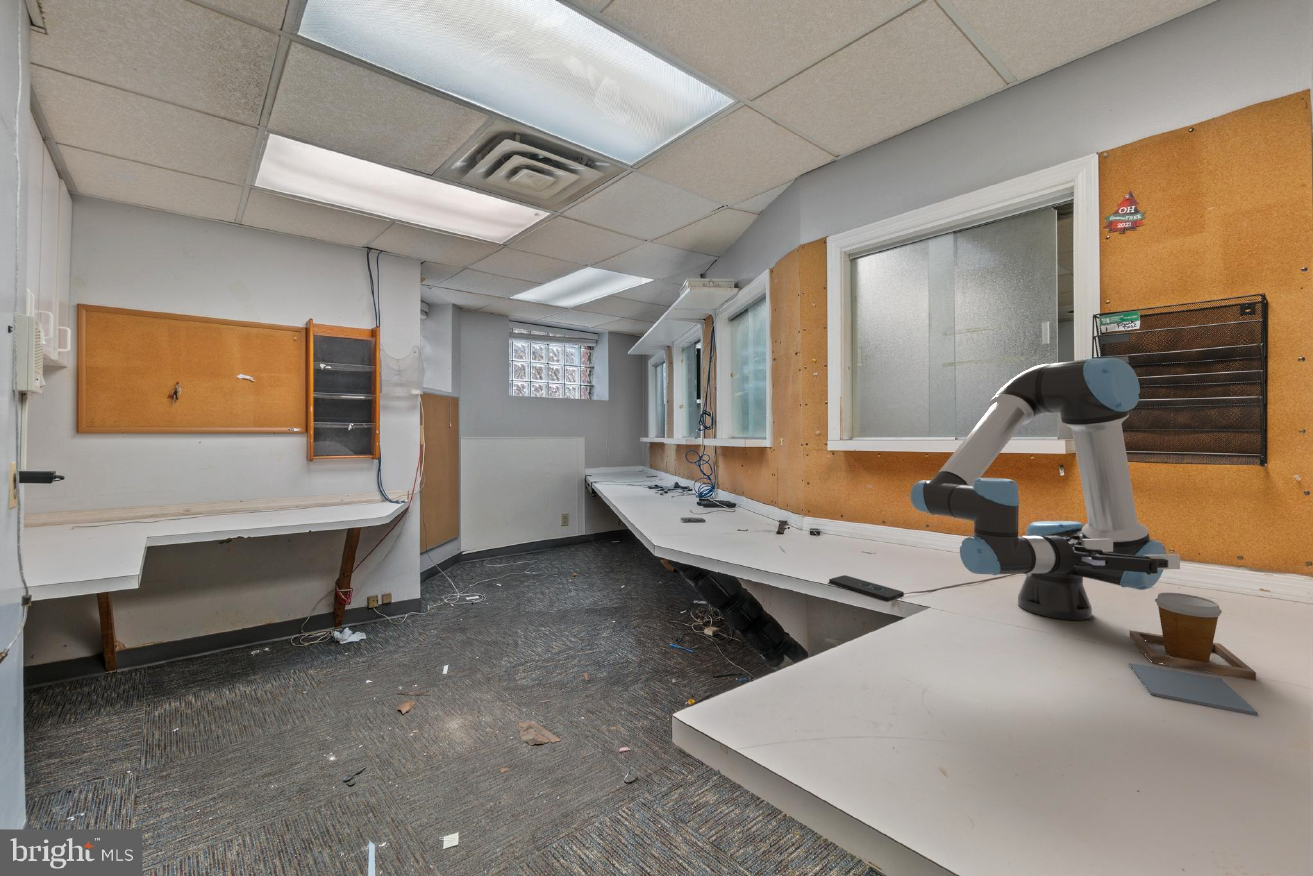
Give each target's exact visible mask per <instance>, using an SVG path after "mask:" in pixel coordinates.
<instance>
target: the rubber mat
mask: <svg viewBox="0 0 1313 876" xmlns="http://www.w3.org/2000/svg"><path fill="white" fill-rule="evenodd" d="M1129 665H1130V666H1131V668H1132V669H1133V670H1134V672H1135V673H1136V674H1137V675H1136V674H1135V673H1134V672H1133V673H1134V674H1135V675H1136V677H1137V676H1138V677H1139V678H1140V679H1141V681H1142V682H1141V681H1140V682H1141V684H1144V685H1145V686H1146V687H1145V686H1144V685H1143V686H1144V687H1145V689H1146V688H1147V689H1148V690H1149V691H1148V690H1147V689H1146V690H1147V691H1148V693H1149V692H1150V693H1151V694H1152V695H1151V694H1150V693H1149V694H1150V695H1151V696H1153V695H1158V696H1157V697H1159V696H1161V697H1160V698H1164V697H1167V698H1166V699H1169V698H1171V699H1170V700H1174V699H1176V700H1175V701H1182V702H1185V701H1186V702H1185V703H1190V704H1191V703H1192V704H1195V703H1197V704H1196V705H1201V704H1203V705H1202V706H1206V705H1207V707H1211V706H1212V708H1216V709H1223V710H1228V711H1234V712H1238V713H1242V714H1243V713H1244V714H1248V715H1254V716H1259V712H1258V711H1257V710H1256V709H1255V708H1254V707H1253V706H1252V705H1251V704H1249V702H1248V701H1246V700H1245V699H1244V698H1243V696H1241V695H1240V694H1239V693H1238V692H1236V690H1234V689H1233V688H1232V687H1231V686H1230V685H1229V684H1228V683H1227V682H1226V681H1225V680H1224V679H1223V678H1221V677H1217V676H1211V675H1205V674H1200V673H1194V672H1193V673H1192V672H1186V671H1183V670H1182V671H1180V670H1177V669H1176V670H1175V669H1170V668H1169V669H1168V668H1164V667H1163V668H1162V667H1158V666H1151V665H1148V664H1147V665H1146V664H1142V663H1141V664H1140V663H1133V662H1128V666H1129ZM1130 666H1129V667H1130ZM1131 668H1130V669H1131ZM1132 669H1131V670H1132ZM1133 670H1132V671H1133ZM1138 677H1137V678H1138ZM1139 678H1138V679H1139ZM1140 679H1139V680H1140Z"/></svg>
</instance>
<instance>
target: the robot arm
mask: <svg viewBox="0 0 1313 876" xmlns="http://www.w3.org/2000/svg"><path fill="white" fill-rule="evenodd" d="M1138 379H1139V378H1138V376H1137V374H1136V372H1135V370H1134V369H1133V368H1132V366H1131V365H1130V364H1129V363H1126V361H1124V360H1122V359H1120V358H1117V357H1107V358H1106V357H1104V358H1098V357H1094V358H1087V359H1078V360H1072V361H1063V362H1055V363H1045V364H1040V365H1036V366H1033V367H1031V368H1029V369H1027V370H1025V371H1023V372H1021V373H1020V374H1018V375H1016V376H1015V377H1014V378H1012V379H1010V380H1009V381H1008V382H1007V383H1006V384H1005V385H1003V387H1001V388H1000V389H999V390H998V391H997V392H996V394H995V395H993V397H992V398H991V399H990V400H989V404H988V405H989V409H988V410H987V412H986V413H985V414H984V415H983V417H982V418H980V420H979V421H978V423H977V424H976V425H975V426H974V428H972V430H971V431H970V433H969V434H967V436H966V437H965V439H964V440H963V441H962V442H961V443H960V445H959V446H958V448H957V449H956V450H955V451H954V452H953V454H952V455H951V456H950V457H949V458H948V459H947V461H946V462H945V463H944V465H943V466H942V467H941V468H940V469H939V471H938V472H937V473H936V474H935V476H934V477H933V478H932V479H931V480H930V479H926V480H923V479H922V480H919V481H916V482H915V483H914V484H913V486H912V488H911V490H910V502H911V504H912V506H913V507H914V508H915V510H917V511H919V512H922V513H926V514H929V515H932V516H942V517H946V518H947V517H948V518H954V519H959V520H964V521H969V522H973V525H974V527H973V535H971V536H969V537H965V538H964V539H963V540H962V541H961V546H959V556H960V560H961V562H962V564H963V566H964V567H965V568H966V569H967V570H968V571H970V572H971V573H972V574H975V575H992V576H999V575H1002V576H1003V575H1024V574H1025V578H1024V580H1023V584H1022V585H1021V587H1020V591H1019V593H1018V594H1017V605H1018V606H1019V607H1020V608H1021V609H1023V610H1025V611H1027V612H1029V613H1033V614H1036V615H1039V616H1043V617H1047V618H1048V617H1049V618H1053V619H1059V620H1068V621H1085V620H1089V619H1091V618H1092V617H1093V608H1092V604H1091V602H1090V599H1089V597H1088V595H1087V591H1086V589H1085V587H1084V578H1085V579H1089V580H1094V581H1098V582H1103V583H1107V584H1110V585H1115V586H1120V587H1121V588H1129V589H1132V590H1133V589H1134V590H1139V591H1146V590H1148V589H1151V588H1152V587H1153V586H1155V585H1156V584H1157V583H1158V581H1159V580H1160V578H1161V576H1162V575H1163V572H1164V570H1181V555H1180V554H1176V553H1172V554H1171V553H1169V554H1168V553H1167V551H1166V547H1165V545H1164V544H1163V543H1162V542H1160V541H1157V540H1156V539H1150V538H1151V537H1150V533H1149V529H1148V527H1147V526H1146V525H1144V524H1142V523H1140V522H1139V521H1138V515H1137V510H1136V502H1135V499H1134V492H1133V486H1132V480H1131V474H1130V468H1129V467H1130V466H1129V462H1128V456H1127V450H1126V445H1125V444H1126V443H1125V437H1124V432H1123V425H1122V424H1123V422H1124V421H1125V420H1126V419H1128V417H1129V416H1130V410H1133V409H1134V408H1135V407H1136V406H1137V405H1138V403H1139V401H1140V400H1139V399H1140V397H1139V395H1140V393H1141V389H1140V387H1141V386H1140V383H1139V380H1138ZM1045 413H1047V414H1049V413H1060V414H1059V415H1060V419H1061V424H1063V425H1065V426H1066V427H1067V428H1070V430H1071V433H1072V438H1073V439H1072V440H1073V444H1074V451H1075V454H1076V461H1077V467H1078V472H1079V478H1080V483H1081V484H1080V485H1081V489H1082V495H1083V500H1084V505H1085V510H1086V516H1087V523H1086V524H1085V525H1084V524H1083V523H1082V522H1080V521H1073V520H1072V521H1071V520H1068V521H1067V520H1045V521H1033V522H1031V523H1029V524H1028V525H1027V526H1026V533H1025V534H1026V535H1021V536H1020V535H1019V517H1020V516H1019V511H1020V510H1019V509H1020V506H1019V505H1020V503H1021V502H1020V498H1019V484H1018V483H1017V482H1016V481H1015V480H1013V479H1009V478H1004V477H1003V478H1002V477H982V476H983V475H984V473H985V472H986V471H987V470H988V469H989V467H990V466H991V464H993V462H994V461H995V459H996V458H997V457H998V456H999V455H1000V453H1001V452H1002V451H1003V449H1005V447H1006V445H1007V444H1008V443H1009V442H1010V440H1011V439H1012V438H1013V437H1014V435H1015V434H1016V433H1017V431H1018V430H1019V428H1021V426H1023V425H1027V424H1029V423H1030V422H1031V421H1032V420H1033V418H1034V417H1036V416H1038V415H1040V414H1045Z"/></svg>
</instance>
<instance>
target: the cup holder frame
mask: <svg viewBox="0 0 1313 876" xmlns="http://www.w3.org/2000/svg"><path fill="white" fill-rule="evenodd" d="M1128 631H1129V632H1128V633H1129V636H1130V637H1129V638H1130V639H1131V641H1132V642H1133V643H1134V642H1135V643H1134V644H1135V645H1136V646H1137V648H1138V649H1139V648H1140V649H1141V650H1142V651H1143V652H1142V651H1141V650H1140V649H1139V650H1140V651H1141V652H1142V653H1143V655H1145V654H1146V656H1147V657H1148V658H1149V659H1150V660H1151V661H1152V662H1156V663H1163V664H1165V665H1164V666H1167V665H1172V666H1171V667H1173V666H1174V668H1179V667H1180V668H1181V669H1186V670H1191V669H1192V671H1197V670H1198V671H1199V672H1203V673H1204V672H1205V673H1209V672H1210V674H1216V675H1217V674H1218V675H1221V676H1222V675H1223V676H1228V677H1234V678H1240V679H1245V680H1253V681H1257V672H1256V671H1255V670H1254V669H1252V667H1250V666H1249V665H1247V664H1246V663H1245V662H1244V661H1243V660H1242V659H1240V658H1239V657H1238V656H1237V655H1235V654H1234V653H1233V652H1232V651H1230V650H1229V649H1228V648H1226V647H1225V646H1224V645H1223V644H1221V643H1219V642H1214V641H1213V645H1212V650H1211V652H1214V653H1216V654H1217V655H1218V656H1219V657H1220V658H1222V659H1223V660H1224V662H1226V663H1228V664H1229V665H1225V664H1218V663H1213V662H1212V663H1211V662H1201V661H1195V660H1189V659H1182V658H1176V657H1172V656H1170V655H1163V654H1158V653H1157V652H1156V651H1155V650H1154V649H1153V647H1151V646H1150V644H1149V643H1156V642H1157V643H1158V644H1162V643H1163V645H1164V640H1163V634H1157V633H1151V632H1144V631H1137V630H1131V629H1130V630H1128ZM1145 640H1146V641H1145ZM1148 642H1149V643H1148ZM1157 643H1156V644H1157ZM1146 656H1145V657H1146ZM1147 657H1146V658H1147ZM1148 658H1147V659H1148ZM1149 659H1148V660H1149ZM1150 660H1149V661H1150ZM1151 661H1150V662H1151Z"/></svg>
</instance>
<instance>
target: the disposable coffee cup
mask: <svg viewBox="0 0 1313 876" xmlns="http://www.w3.org/2000/svg"><path fill="white" fill-rule="evenodd" d="M1154 602H1155V603H1156V606H1158V613H1159V621H1160V627H1161V632H1162V633H1161V635H1163V640H1164V644H1163V646H1164V652H1165V654H1166V655H1168V654H1169V655H1168V656H1170V657H1176V658H1182V659H1189V660H1195V661H1201V662H1208V663H1210V659H1211V655H1212V651H1211V650H1212V645H1213V642H1214V641H1215V635H1216V634H1215V633H1216V630H1217V625H1218V619H1219V617H1220V615H1221V614H1222V613H1223V611H1222V609H1220V605H1219V603H1217V602H1216V601H1214V600H1211V599H1209V598H1205V597H1202V596H1197V595H1192V594H1187V593H1186V594H1185V593H1179V592H1159V593H1158V595H1157V597H1156V598H1155V599H1154Z"/></svg>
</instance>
